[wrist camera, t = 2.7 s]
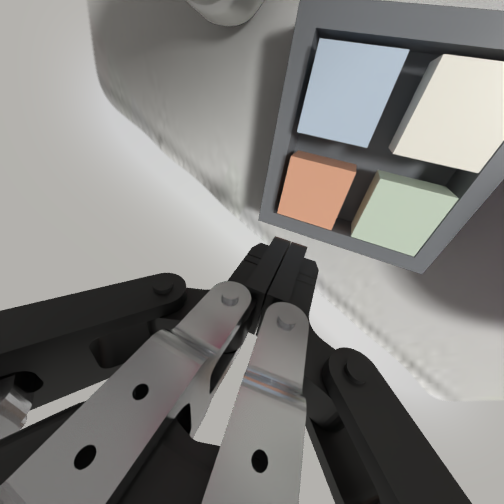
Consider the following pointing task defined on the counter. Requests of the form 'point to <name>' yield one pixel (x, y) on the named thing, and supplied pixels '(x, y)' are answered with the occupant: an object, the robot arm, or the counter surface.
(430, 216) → the sage key
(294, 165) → the terracotta key
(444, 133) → the cream key
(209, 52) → the counter surface
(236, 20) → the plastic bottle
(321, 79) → the blue key
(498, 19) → the keypad base
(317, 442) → the robot arm
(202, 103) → the counter surface
